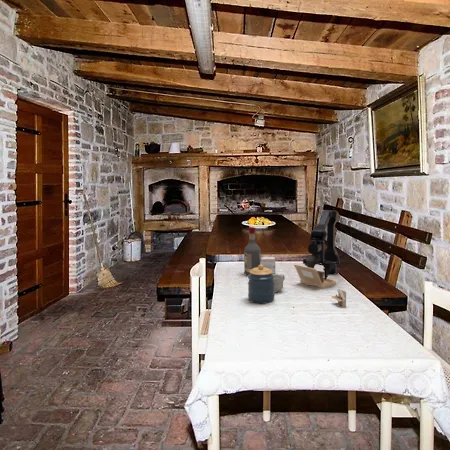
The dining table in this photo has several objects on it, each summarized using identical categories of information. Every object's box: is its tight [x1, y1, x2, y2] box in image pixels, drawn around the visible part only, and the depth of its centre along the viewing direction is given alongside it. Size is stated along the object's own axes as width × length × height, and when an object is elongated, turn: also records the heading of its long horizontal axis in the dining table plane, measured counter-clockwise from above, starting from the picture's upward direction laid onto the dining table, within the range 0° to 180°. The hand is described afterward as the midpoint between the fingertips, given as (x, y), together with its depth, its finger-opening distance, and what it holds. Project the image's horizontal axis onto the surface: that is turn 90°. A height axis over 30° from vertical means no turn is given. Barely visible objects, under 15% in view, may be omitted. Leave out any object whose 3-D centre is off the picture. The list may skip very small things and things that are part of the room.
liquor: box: [243, 226, 262, 277], centre depth 213 cm, size 9×9×30 cm
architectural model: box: [330, 288, 347, 308], centre depth 158 cm, size 3×7×7 cm, turn 17°
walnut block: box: [317, 270, 324, 283], centre depth 193 cm, size 4×4×6 cm
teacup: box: [273, 273, 286, 293], centre depth 182 cm, size 14×11×8 cm
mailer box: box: [299, 278, 337, 289], centre depth 193 cm, size 12×15×2 cm
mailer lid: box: [294, 263, 322, 284], centre depth 187 cm, size 11×15×1 cm
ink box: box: [261, 256, 276, 274], centre depth 209 cm, size 9×5×12 cm, turn 86°
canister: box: [247, 264, 275, 304], centre depth 167 cm, size 13×13×18 cm
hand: (318, 277), depth 193 cm, fingers open, 9 cm apart
